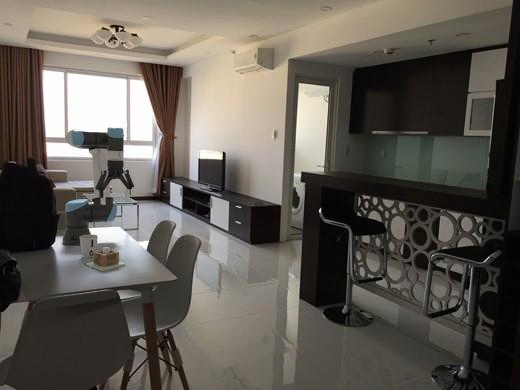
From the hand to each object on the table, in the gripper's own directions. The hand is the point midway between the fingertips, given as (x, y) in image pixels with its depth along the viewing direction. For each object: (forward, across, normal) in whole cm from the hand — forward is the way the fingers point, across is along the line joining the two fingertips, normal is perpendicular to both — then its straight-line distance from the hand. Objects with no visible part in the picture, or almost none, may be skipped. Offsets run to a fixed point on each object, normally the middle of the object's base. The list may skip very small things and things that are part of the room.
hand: (115, 203), depth 208 cm
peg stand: (+27, -12, -10) cm, 31 cm away
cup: (+27, -9, +9) cm, 30 cm away
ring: (+25, -12, -10) cm, 30 cm away
